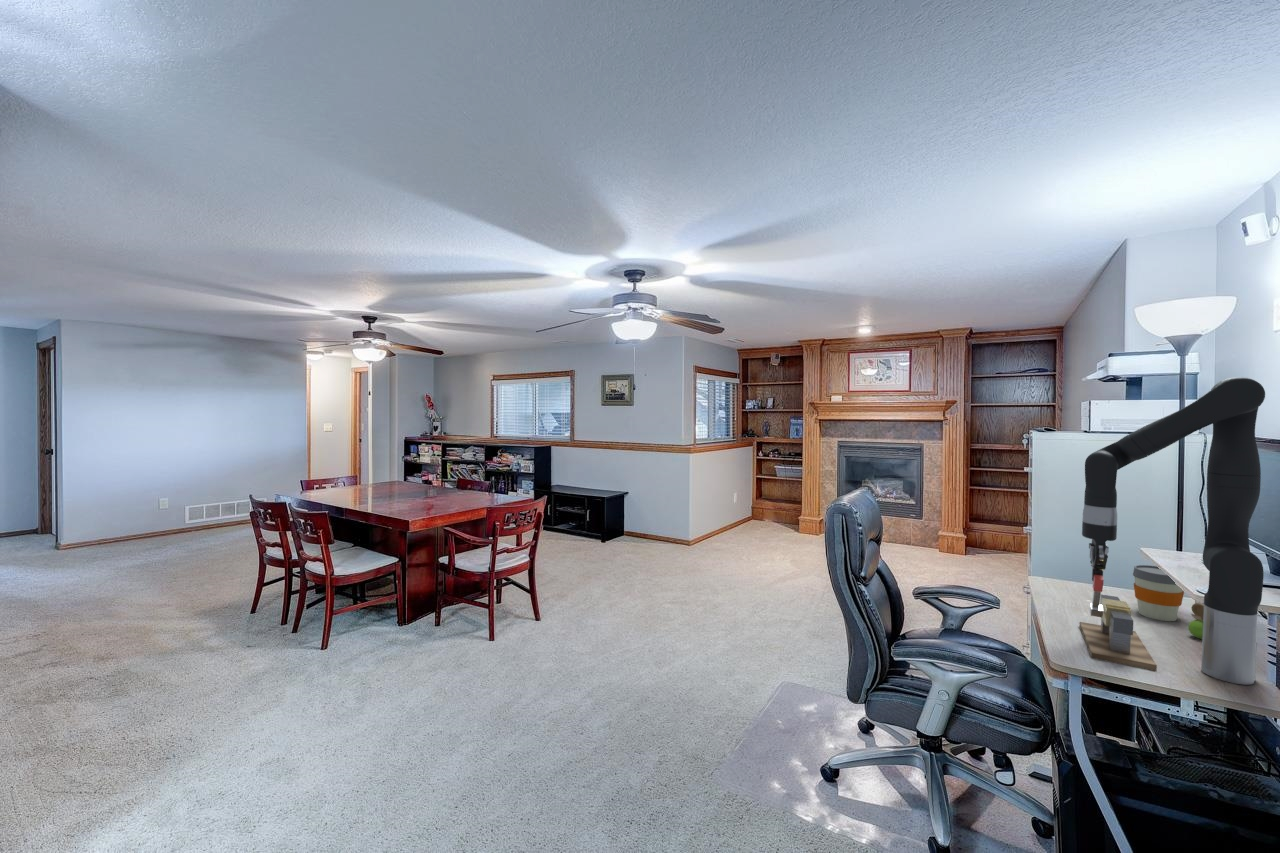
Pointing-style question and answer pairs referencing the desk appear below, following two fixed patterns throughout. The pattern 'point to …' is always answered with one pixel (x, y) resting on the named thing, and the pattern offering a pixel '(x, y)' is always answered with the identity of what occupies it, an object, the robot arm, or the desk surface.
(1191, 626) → the snail figurine
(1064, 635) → the desk surface
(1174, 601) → the reusable coffee cup
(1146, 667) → the base board
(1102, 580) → the valve lever
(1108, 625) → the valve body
